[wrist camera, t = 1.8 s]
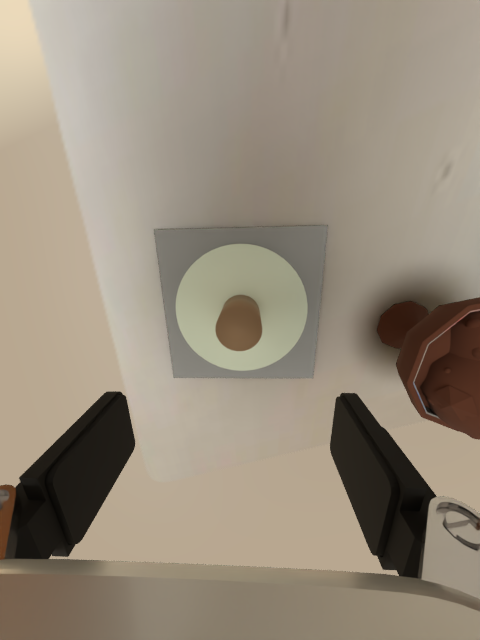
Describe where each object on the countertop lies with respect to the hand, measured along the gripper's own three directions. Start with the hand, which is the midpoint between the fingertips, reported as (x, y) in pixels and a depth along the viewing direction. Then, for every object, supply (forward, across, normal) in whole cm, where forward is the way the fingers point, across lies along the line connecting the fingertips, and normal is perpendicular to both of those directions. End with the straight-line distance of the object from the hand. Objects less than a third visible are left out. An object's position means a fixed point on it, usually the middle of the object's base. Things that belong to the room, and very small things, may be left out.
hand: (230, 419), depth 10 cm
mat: (+16, 0, -1) cm, 16 cm away
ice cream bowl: (+16, -18, +1) cm, 24 cm away
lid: (+16, 0, -1) cm, 16 cm away
